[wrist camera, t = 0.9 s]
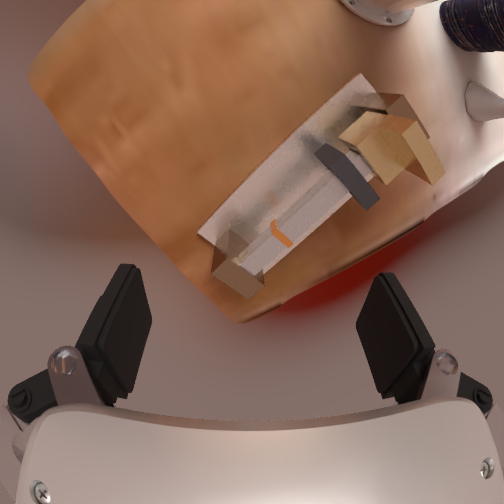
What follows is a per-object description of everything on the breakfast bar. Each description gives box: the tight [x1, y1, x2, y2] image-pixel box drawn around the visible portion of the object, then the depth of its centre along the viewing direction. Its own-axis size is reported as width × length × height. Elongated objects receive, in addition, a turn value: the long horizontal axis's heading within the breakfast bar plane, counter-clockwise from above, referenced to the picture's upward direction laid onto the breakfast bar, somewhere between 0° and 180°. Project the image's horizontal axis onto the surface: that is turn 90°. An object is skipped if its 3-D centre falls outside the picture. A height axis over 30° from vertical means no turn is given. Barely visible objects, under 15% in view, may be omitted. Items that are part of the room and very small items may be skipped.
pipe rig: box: [197, 73, 430, 299], centre depth 31 cm, size 31×12×8 cm, turn 137°
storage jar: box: [439, 0, 504, 52], centre depth 13 cm, size 10×10×15 cm
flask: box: [465, 82, 504, 121], centre depth 23 cm, size 7×7×10 cm
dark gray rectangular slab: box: [314, 143, 380, 211], centre depth 28 cm, size 2×6×6 cm, turn 47°
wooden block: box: [338, 111, 445, 186], centre depth 24 cm, size 5×6×11 cm
